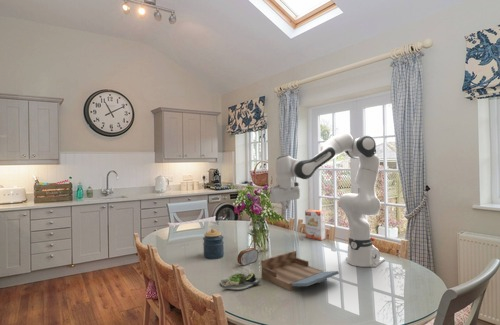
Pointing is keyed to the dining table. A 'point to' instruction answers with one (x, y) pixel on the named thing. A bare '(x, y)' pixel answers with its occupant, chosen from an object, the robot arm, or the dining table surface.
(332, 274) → the panel
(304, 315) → the dining table surface
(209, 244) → the canister
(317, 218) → the cracker box
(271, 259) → the wooden tray box
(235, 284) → the salad plate
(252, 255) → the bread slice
